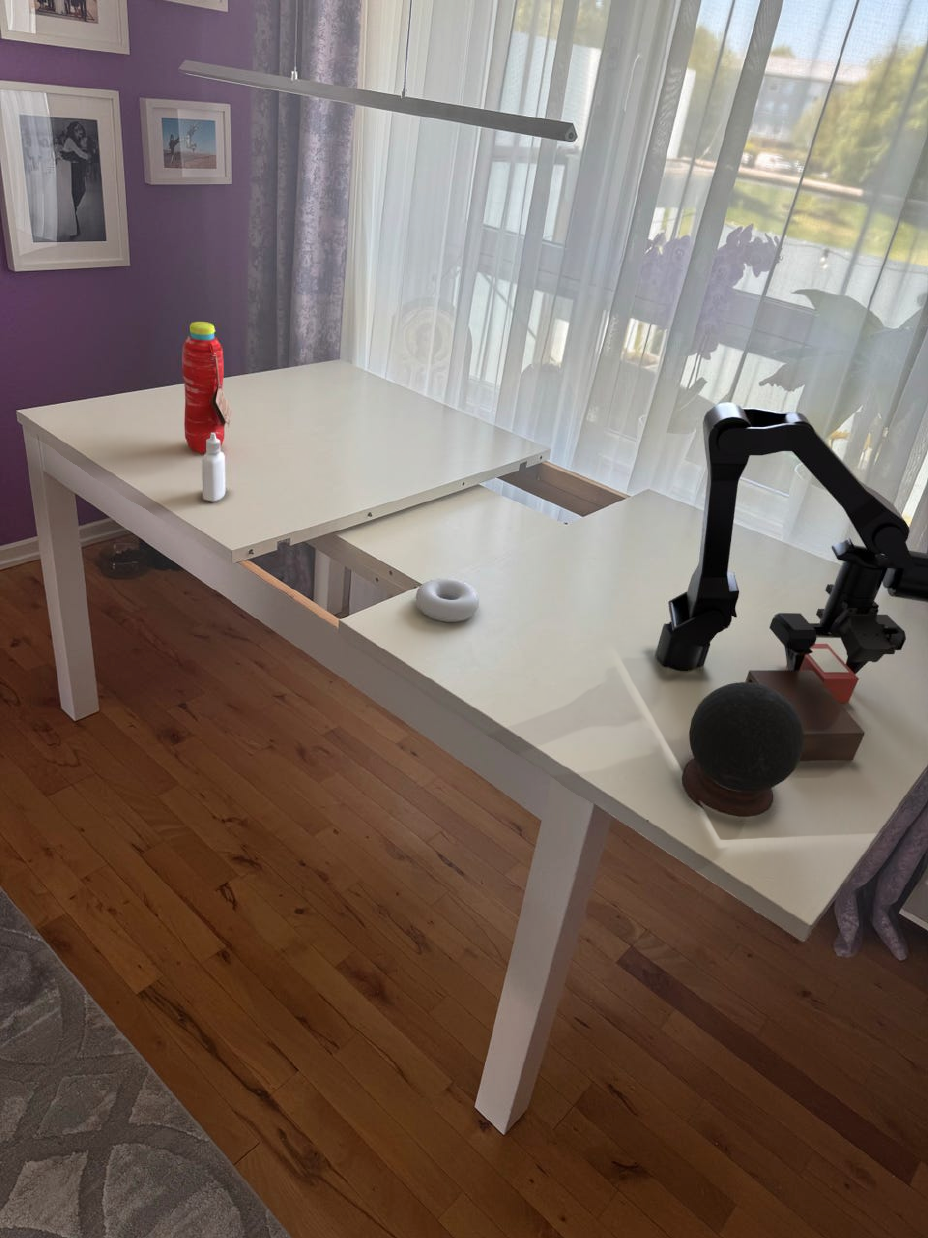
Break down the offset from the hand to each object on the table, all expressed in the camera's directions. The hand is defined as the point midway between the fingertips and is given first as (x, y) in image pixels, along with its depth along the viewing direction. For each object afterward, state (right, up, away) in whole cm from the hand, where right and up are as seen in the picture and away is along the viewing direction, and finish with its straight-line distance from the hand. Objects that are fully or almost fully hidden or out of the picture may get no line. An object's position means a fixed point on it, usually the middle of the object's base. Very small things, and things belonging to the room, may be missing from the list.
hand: (818, 679), depth 135 cm
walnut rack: (-7, -7, -9) cm, 14 cm away
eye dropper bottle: (-98, +31, +30) cm, 108 cm away
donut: (-56, +10, +7) cm, 57 cm away
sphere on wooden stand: (-20, -13, -22) cm, 32 cm away
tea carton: (0, -1, +1) cm, 2 cm away
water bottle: (-104, +42, +47) cm, 122 cm away
